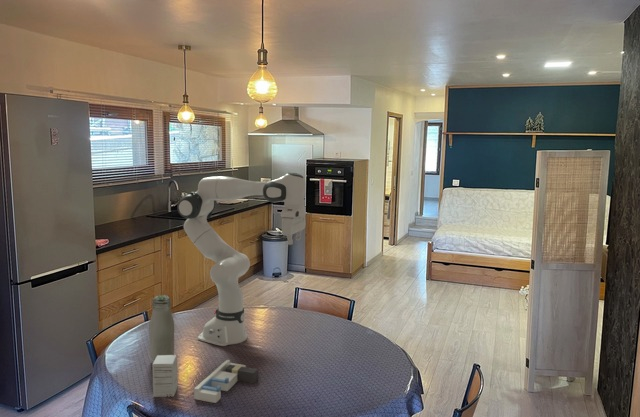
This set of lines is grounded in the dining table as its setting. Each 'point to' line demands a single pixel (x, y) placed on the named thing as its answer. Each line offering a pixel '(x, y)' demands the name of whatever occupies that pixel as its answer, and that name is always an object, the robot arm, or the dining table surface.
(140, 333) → the dining table surface
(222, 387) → the white angular block assembly
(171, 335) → the glass bottle
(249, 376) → the banded gray post
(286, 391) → the dining table surface
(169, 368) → the supplement box
